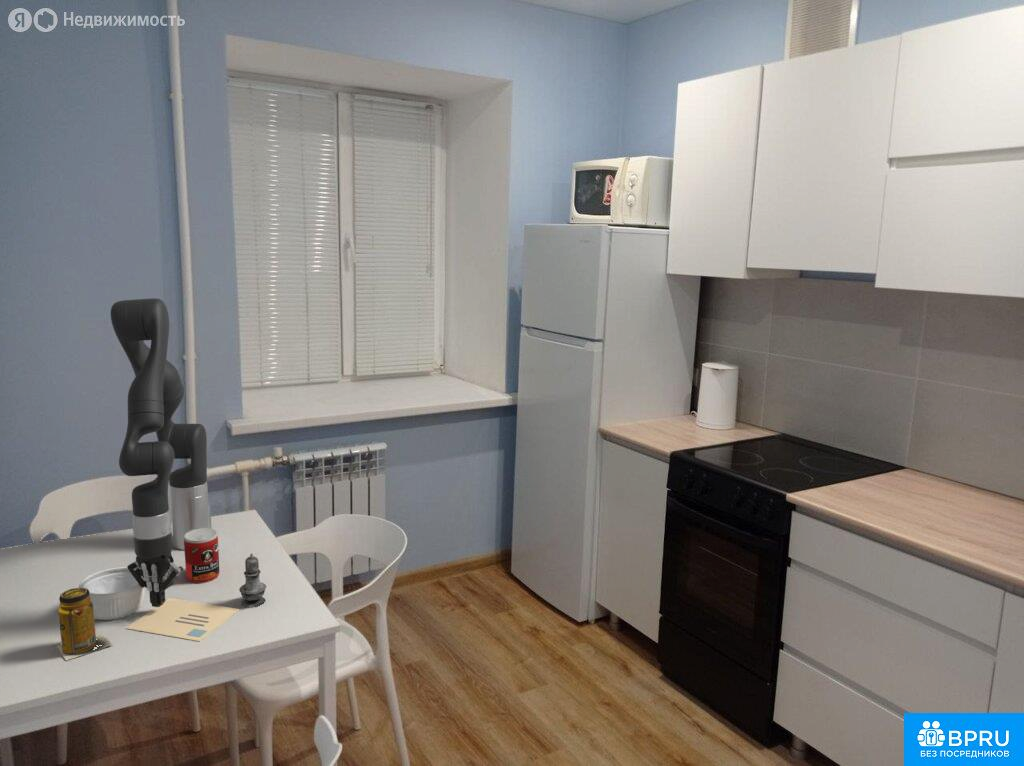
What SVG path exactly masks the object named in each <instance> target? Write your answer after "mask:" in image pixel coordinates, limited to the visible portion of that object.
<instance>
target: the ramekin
mask: <svg viewBox="0 0 1024 766" xmlns="http://www.w3.org/2000/svg"><path fill="white" fill-rule="evenodd" d="M141 577H142V576H141ZM142 579H143V580H144V578H143V577H142ZM78 588H86V589H88V590H89V592H90V598H91V599H90V600H91V601H92V603H93V611H94V620H98V621H112V619H113V620H117V619H122V618H126V617H128V616H130V615H132V614H134V613H136V612H137V611H138V610H139V609H140V608H141V607H142V605H143V603H144V601H145V593H146V587H144V588H142V587H141V586H140V585H139V583H138V582H137V581H136V579H135V578H134V577H133V575H132V574H131V573H130V571H129V570H128V568H127V566H125V567H123V566H122V567H113V568H107V569H103V570H100V571H97V572H94V573H92V574H90V575H88V576H86V577H85V578H83V580H82V581H80V583H79V586H78Z"/></svg>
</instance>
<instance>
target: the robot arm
mask: <svg viewBox="0 0 1024 766" xmlns="http://www.w3.org/2000/svg"><path fill="white" fill-rule="evenodd" d="M110 320H111V321H110V322H111V325H112V328H113V331H114V334H115V335H116V337H117V340H118V341H119V344H120V345H121V347H122V349H123V351H124V353H125V355H126V356H127V359H128V360H129V363H130V365H131V367H132V370H133V372H134V375H135V376H134V379H133V380H132V382H131V383H130V386H129V389H128V393H127V394H128V395H127V427H126V428H127V429H126V432H125V436H124V437H125V438H124V441H123V444H122V447H121V449H120V454H119V459H118V464H119V465H118V466H119V468H120V470H121V472H122V473H123V474H124V475H125V476H128V477H139V476H140V477H141V476H149V475H151V476H152V475H156V477H155V478H154V479H153V480H151V481H148V482H145V483H142V484H139V485H136V486H135V487H133V489H132V492H131V502H132V503H131V504H132V533H133V548H134V549H133V550H134V554H135V556H136V557H135V561H133V562H131V563H130V564H128V565H126V567H127V568H128V570H129V571H130V573H131V574H132V575H133V577H134V578H135V579H136V581H137V582H138V583H139V585H140V586H141V587H142V588H144V587H145V589H147V591H148V592H149V593H148V594H149V601H150V604H151V606H152V607H153V608H154V607H155V608H156V607H160V606H161V605H163V604H164V602H165V601H166V590H167V589H169V588H170V587H172V586H173V585H174V583H175V582H176V581H177V580H178V578H179V577H180V576H181V574H182V573H183V571H184V567H183V566H177V565H176V564H175V563H174V562H175V561H174V558H173V555H172V552H173V549H174V548H175V549H177V550H184V535H185V534H186V533H187V532H189V531H192V530H195V529H201V528H209V529H213V528H212V515H211V514H212V511H211V510H212V509H211V505H210V504H209V493H208V492H209V491H208V477H207V476H208V465H207V464H208V463H207V459H208V458H207V454H208V453H207V449H208V448H207V447H208V446H207V444H208V443H207V441H208V439H207V431H206V428H205V426H204V425H203V424H201V423H175V422H174V421H173V419H172V417H173V416H174V414H175V412H176V411H177V409H178V408H179V406H180V405H181V403H182V401H183V398H184V394H185V390H184V389H185V388H184V386H183V383H182V379H181V377H180V373H179V371H178V369H177V368H176V366H175V365H174V364H172V363H171V362H170V361H169V360H168V359H167V356H168V346H169V345H168V344H169V335H170V315H169V311H168V308H167V305H166V303H165V302H164V301H163V300H162V299H160V298H140V299H139V298H137V299H128V300H127V299H124V300H120V301H119V300H118V301H116V302H114V303H113V304H112V306H111V308H110ZM144 341H150V347H149V346H148V345H147V344H146V343H145V342H144ZM153 433H156V438H157V440H156V441H144V442H143V441H142V442H139V441H140V440H141V439H142V437H144V436H146V435H147V434H153ZM177 459H178V460H180V459H181V460H182V459H183V460H188V459H189V460H190V464H188V465H186V466H183V467H180V468H178V469H175V470H173V471H172V469H173V465H174V461H175V460H177ZM168 491H169V493H168ZM169 495H170V496H169ZM169 497H170V498H169ZM169 499H170V507H169ZM170 510H171V511H170ZM173 547H174V548H173ZM141 576H142V577H143V578H144V580H143V579H142V577H141Z"/></svg>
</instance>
